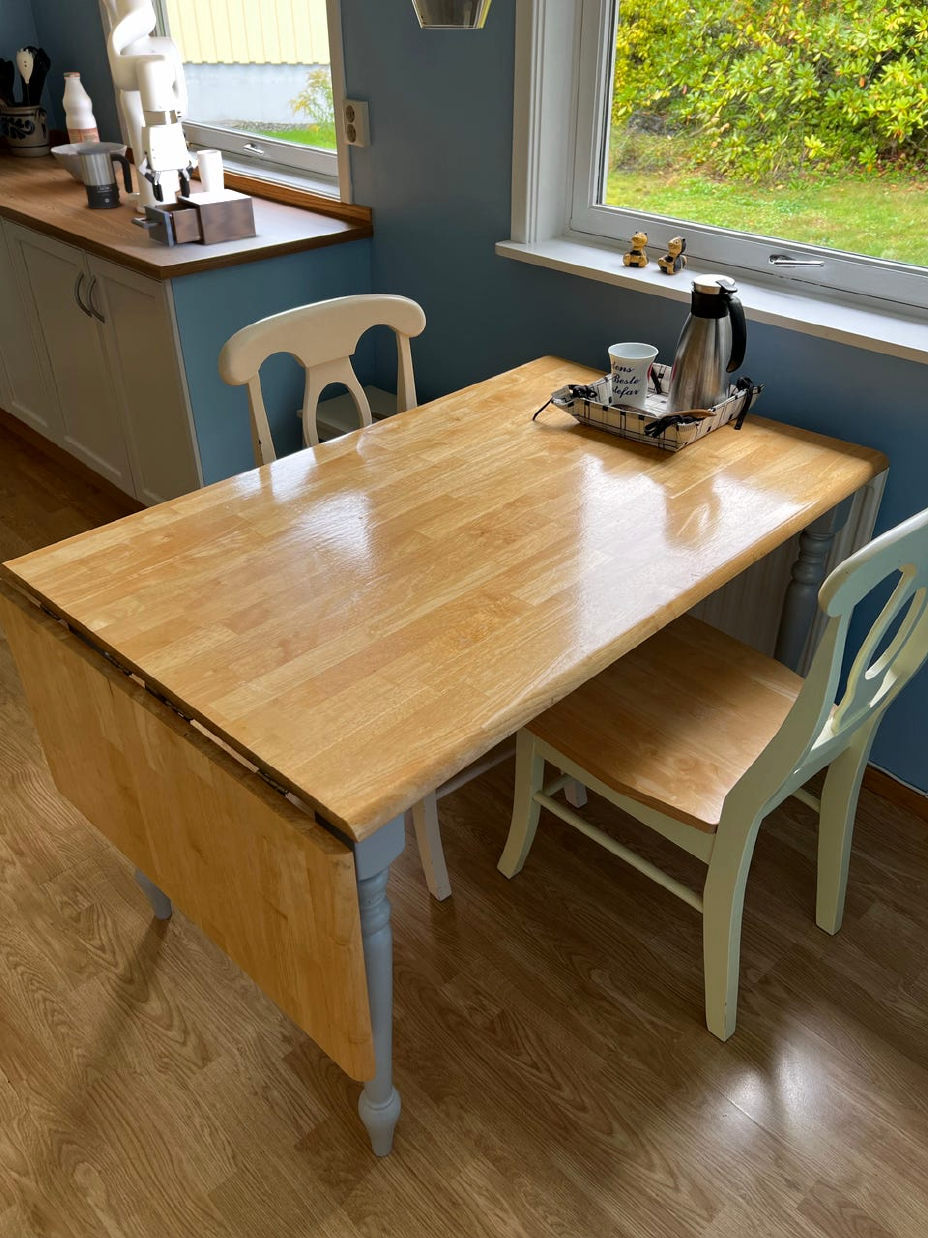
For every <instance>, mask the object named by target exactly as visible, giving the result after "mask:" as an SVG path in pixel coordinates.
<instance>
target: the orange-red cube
mask: <svg viewBox="0 0 928 1238" xmlns="http://www.w3.org/2000/svg"><path fill="white" fill-rule="evenodd" d="M168 213H169V217H170V224H171V230H172V236H173V237H174V238H175V232H174V226H173V219H172V213H171V212H168Z"/></svg>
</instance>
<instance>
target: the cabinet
mask: <svg viewBox="0 0 928 1238" xmlns="http://www.w3.org/2000/svg"><path fill="white" fill-rule="evenodd" d="M189 195H190V198H185V197H183V196H182V195H178V196H176V202H185V203H188V204H190V205H193V206H196V207H199V214H200V221H201V228H202V235H203V239H200V240H194V241H193V242H197V243H199V244H202V245H204V246H208V245H215V244H219V243H225V242H231V241H238V240H244V239H250V238H255V237H256V236H257V234H256V233H257V232H256V225H255V215H254V214H255V213H254V208H253V207H254V206H253V197H252V196H249V195H246V194H243V193H240V192H237V191H234V190H231V189H224V190H219V191H212V192H205V193H204V192H199V193H192V194H191V193H190V194H189Z"/></svg>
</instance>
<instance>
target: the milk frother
mask: <svg viewBox="0 0 928 1238" xmlns="http://www.w3.org/2000/svg"><path fill="white" fill-rule="evenodd" d="M109 151H110V149H109V148H86V149H80V150H77V152H76V153H77V154H78V156H79V160H80V165H81V170H82V174H83V179H84V182H83V183H84V187H85V188H84V189H85V194H86V199H87V207H88V208H91V209H112V208H115V207H119V206H121V205H122V203H121V201H120V199H121V197H120V189H121V188H120V186H119V185H118V180H117V176H116V175H115V171H114V166H113V161H119V162H120V163H121V165H122V166H121V171H122V178H123V186H124V191H125V193H126V194H128V195H129V194H130V193H134V187H133V179H132V171H131V164H130V161H129V159H127V157H126V156H123V155H121V154H118V153H109Z"/></svg>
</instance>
